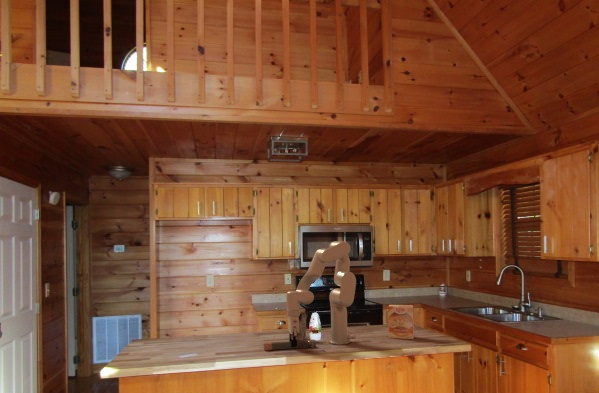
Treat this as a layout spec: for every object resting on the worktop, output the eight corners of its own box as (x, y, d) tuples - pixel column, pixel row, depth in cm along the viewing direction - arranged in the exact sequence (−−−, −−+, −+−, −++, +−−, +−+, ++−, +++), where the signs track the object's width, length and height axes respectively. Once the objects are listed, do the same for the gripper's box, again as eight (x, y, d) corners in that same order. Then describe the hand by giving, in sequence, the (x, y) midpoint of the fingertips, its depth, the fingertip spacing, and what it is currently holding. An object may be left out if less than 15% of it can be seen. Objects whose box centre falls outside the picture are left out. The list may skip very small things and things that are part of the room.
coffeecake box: (388, 338, 278) (387, 306, 279) (389, 335, 284) (389, 304, 286) (413, 339, 273) (412, 306, 275) (414, 336, 280) (413, 305, 282)
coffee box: (288, 339, 278) (288, 312, 279) (293, 337, 283) (293, 310, 285) (301, 340, 273) (301, 313, 275) (306, 338, 279) (306, 311, 281)
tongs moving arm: (311, 346, 258) (311, 340, 258) (312, 347, 256) (311, 341, 256) (264, 349, 252) (264, 343, 253) (264, 350, 250) (264, 343, 250)
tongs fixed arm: (314, 345, 261) (314, 339, 261) (316, 347, 257) (316, 341, 257) (263, 349, 254) (263, 342, 255) (264, 350, 250) (264, 344, 250)
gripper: (302, 315, 250) (302, 348, 249) (296, 310, 267) (296, 341, 265) (289, 315, 249) (289, 349, 247) (283, 310, 265) (283, 342, 263)
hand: (293, 345), depth 256 cm, fingers open, 4 cm apart
